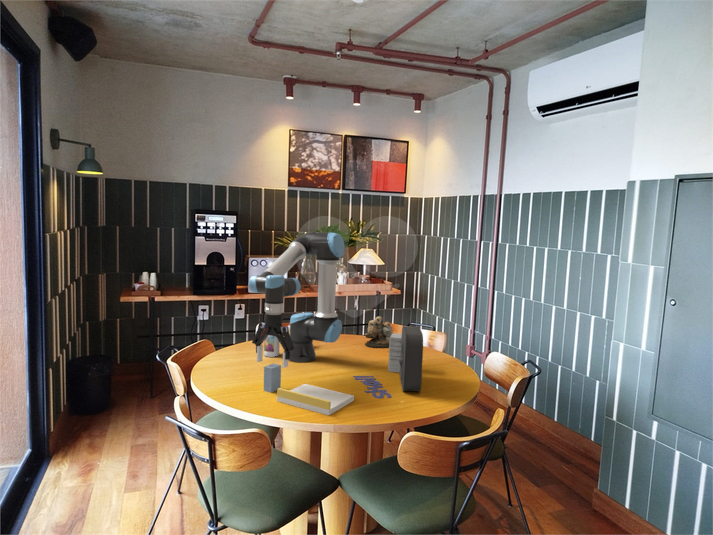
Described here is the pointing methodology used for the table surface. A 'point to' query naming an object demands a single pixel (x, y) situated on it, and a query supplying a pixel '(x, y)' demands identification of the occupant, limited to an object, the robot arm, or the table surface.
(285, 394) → the display plank
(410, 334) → the speaker
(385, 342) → the owl figurine
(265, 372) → the carton
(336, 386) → the table surface
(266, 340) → the milk bottle
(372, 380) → the signage
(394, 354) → the supplement box
